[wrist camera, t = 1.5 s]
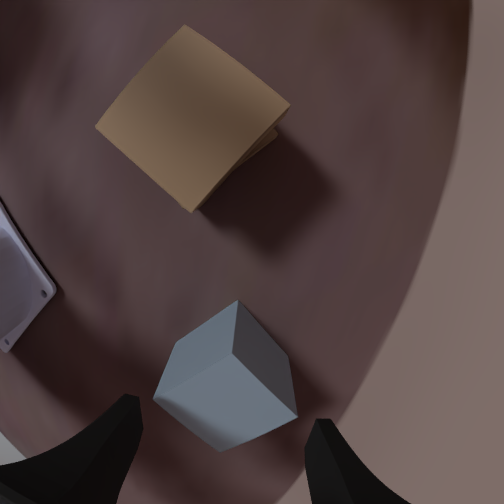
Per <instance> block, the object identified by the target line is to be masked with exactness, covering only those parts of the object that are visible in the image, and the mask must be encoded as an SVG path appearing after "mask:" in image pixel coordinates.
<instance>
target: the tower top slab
mask: <svg viewBox="0 0 504 504" xmlns="http://www.w3.org/2000/svg"><path fill="white" fill-rule="evenodd" d="M290 106H291V105H290V104H289V103H288V102H287V101H286V100H284V99H283V98H282V97H281V96H280V95H279V94H277V93H276V92H275V91H274V90H273V89H271V88H270V87H269V86H268V85H267V84H265V83H264V82H263V81H262V80H260V79H259V78H258V77H257V76H255V75H254V74H253V73H252V72H250V71H249V70H248V69H247V68H245V67H244V66H243V65H241V64H240V63H239V62H237V61H236V60H235V59H233V58H232V57H231V56H229V55H228V54H227V53H225V52H224V51H223V50H221V49H220V48H218V47H217V46H216V45H214V44H213V43H211V42H210V41H209V40H207V39H206V38H204V37H203V36H201V35H200V34H198V33H197V32H195V31H194V30H192V29H191V28H189V27H188V26H186V25H184V26H183V27H182V28H181V29H180V30H178V31H177V32H176V33H175V34H174V35H173V36H172V37H171V38H170V39H169V40H168V41H167V42H166V43H165V44H164V45H163V46H162V47H161V48H160V49H159V50H158V51H157V52H156V53H155V55H154V56H153V57H152V58H151V59H150V60H149V61H148V62H147V63H146V64H145V65H144V66H143V68H142V69H141V70H140V71H139V72H138V73H137V74H136V75H135V77H134V78H133V79H132V80H131V81H130V82H129V84H128V85H127V86H126V87H125V88H124V90H123V91H122V92H121V93H120V95H119V96H118V97H117V98H116V100H115V101H114V102H113V103H112V105H111V106H110V107H109V109H108V110H107V111H106V112H105V114H104V115H103V116H102V118H101V119H100V121H99V122H98V123H97V125H96V126H95V128H96V129H97V130H99V131H100V132H101V133H102V134H103V135H104V136H105V137H106V138H107V139H108V140H110V141H111V142H112V143H113V144H114V145H115V146H116V147H117V148H118V149H120V150H121V151H122V152H123V153H124V154H125V155H126V156H127V157H128V158H130V159H131V160H132V161H133V162H134V163H135V164H136V165H137V166H138V167H140V168H141V169H142V170H143V171H144V172H145V173H146V174H147V175H149V176H150V177H151V178H152V179H153V180H154V181H155V182H156V183H157V184H159V185H160V186H161V187H162V188H163V189H164V190H165V191H166V192H168V193H169V194H170V195H171V196H172V197H173V198H174V199H175V200H177V201H178V202H179V203H180V204H181V205H182V206H183V207H184V208H186V209H187V210H188V211H189V212H190V213H192V212H194V211H195V210H196V209H198V208H199V207H201V206H202V205H203V204H204V203H205V202H206V201H207V200H208V198H209V197H210V196H211V195H212V194H213V193H214V192H215V191H216V189H217V188H218V187H219V186H220V185H221V184H222V183H223V182H224V180H225V179H226V178H227V177H228V176H229V175H230V174H231V173H232V172H233V170H234V169H235V168H236V167H237V166H238V165H239V164H240V163H241V162H242V161H243V160H244V159H245V157H246V156H247V155H248V154H249V153H250V152H251V151H252V150H253V149H254V148H255V147H256V146H257V145H258V144H259V143H260V141H261V140H262V139H263V138H264V137H265V136H266V135H267V134H268V133H269V132H270V131H271V130H272V129H273V128H274V127H275V126H276V125H277V124H278V123H279V122H280V121H281V120H282V119H283V118H284V117H285V115H286V113H287V111H288V109H289V108H290Z"/></svg>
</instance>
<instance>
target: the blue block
mask: <svg viewBox="0 0 504 504" xmlns="http://www.w3.org/2000/svg"><path fill="white" fill-rule="evenodd" d="M153 400H154V401H155V402H156V403H157V404H158V405H160V406H161V407H162V408H163V409H164V410H165V411H167V412H168V413H169V414H170V415H171V416H173V417H174V418H175V419H176V420H178V421H179V422H180V423H181V424H183V425H184V426H185V427H186V428H188V429H189V430H190V431H191V432H193V433H194V434H195V435H197V436H198V437H199V438H201V439H202V440H203V441H205V442H206V443H207V444H209V445H210V446H212V447H213V448H214V449H216V450H217V451H219V452H223V451H225V450H228V449H230V448H233V447H235V446H238V445H240V444H242V443H245V442H247V441H249V440H252V439H254V438H256V437H258V436H260V435H263V434H265V433H267V432H269V431H271V430H273V429H275V428H277V427H279V426H281V425H284V424H286V423H288V422H289V421H291V420H293V419H295V418H297V417H298V414H297V408H296V401H295V395H294V389H293V383H292V377H291V371H290V364H289V358H288V356H287V354H286V353H285V352H284V351H283V350H282V349H281V348H280V347H279V346H278V344H277V343H276V342H275V341H274V340H273V339H272V338H271V337H270V335H269V334H268V333H267V332H266V331H265V330H264V329H263V328H262V326H261V325H260V324H259V323H258V322H257V321H256V320H255V318H254V317H253V316H252V315H251V314H250V313H249V312H248V310H247V309H246V308H245V307H244V306H243V305H242V303H241V302H240V301H239V300H237V301H235V302H234V303H232V304H231V305H230V306H228V307H227V308H225V309H224V310H222V311H221V312H220V313H218V314H217V315H215V316H214V317H212V318H211V319H209V320H208V321H207V322H205V323H204V324H202V325H201V326H199V327H198V328H196V329H195V330H193V331H192V332H190V333H189V334H188V335H186V336H185V337H183V338H182V339H180V340H179V341H177V342H176V343H175V346H174V348H173V351H172V353H171V355H170V358H169V360H168V363H167V365H166V367H165V370H164V372H163V375H162V377H161V380H160V382H159V385H158V387H157V390H156V392H155V395H154V397H153Z"/></svg>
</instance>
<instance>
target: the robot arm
mask: <svg viewBox="0 0 504 504" xmlns="http://www.w3.org/2000/svg"><path fill="white" fill-rule="evenodd" d="M44 291H45V292H46V293H47V295H46V294H45V292H44ZM55 293H56V286H55V284H54V282H53V281H52V280H51V278H50V277H49V276H48V274H47V273H46V272H45V270H44V269H43V267H42V266H41V265H40V263H39V262H38V260H37V259H36V257H35V256H34V255H33V253H32V252H31V250H30V249H29V247H28V246H27V244H26V243H25V241H24V240H23V238H22V237H21V235H20V233H19V232H18V230H17V229H16V227H15V225H14V224H13V222H12V220H11V219H10V217H9V215H8V214H7V212H6V210H5V209H4V207H3V205H2V203H1V202H0V348H1V350H2V351H3V352H5V353H7V352H8V351H9V350H10V349H11V348H12V346H13V345H14V344H15V342H16V341H17V340H18V339H19V337H20V336H21V335H22V333H23V332H24V331H25V330H26V328H27V327H28V326H29V325H30V323H31V322H32V321H33V320H34V318H35V317H36V316H37V315H38V313H39V312H40V311H41V310H42V309H43V307H44V306H45V305H46V304H47V303H48V302H49V300H50V299H51V298H52V297H53V296H54V295H55ZM142 431H143V424H142V416H141V409H140V401H139V397H137V396H133V395H129V394H124V395H123V396H122V397H121V398H120V399H118V400H117V401H116V402H115V403H114V404H113V405H112V406H111V407H110V408H109V409H108V410H107V411H105V412H104V413H103V414H102V415H101V416H100V417H98V418H97V419H96V420H95V421H94V422H92V423H91V424H90V425H89V426H87V427H86V428H85V429H83V430H82V431H80V432H79V433H78V434H76V435H75V436H73V437H72V438H70V439H69V440H67V441H65V442H64V443H62V444H60V445H58V446H56V447H54V448H52V449H50V450H48V451H46V452H44V453H42V454H39V455H37V456H34V457H31V458H28V459H25V460H22V461H19V462H15V463H10V464H6V465H0V504H116V503H117V499H118V495H119V492H120V489H121V487H122V484H123V482H124V480H125V477H126V475H127V472H128V470H129V468H130V466H131V463H132V461H133V458H134V456H135V454H136V451H137V449H138V446H139V442H140V439H141V435H142ZM305 468H306V474H307V480H308V485H309V489H310V495H311V501H312V504H411V503H409V502H407V501H406V500H404V499H403V498H401V497H400V496H399V495H397V494H396V493H394V492H393V491H392V490H390V489H389V488H388V487H387V486H385V485H384V484H383V483H382V482H381V481H380V480H379V479H378V478H377V477H376V476H375V475H374V474H373V473H372V472H371V471H370V470H369V469H368V468H367V467H366V466H365V465H364V464H363V462H362V461H361V460H360V459H359V458H358V456H357V455H356V454H355V453H354V451H353V450H352V449H351V447H350V446H349V445H348V443H347V442H346V441H345V439H344V438H343V436H342V435H341V433H340V432H339V430H338V429H337V427H336V426H335V424H334V423H333V422H332V420H331V419H316V420H315V423H314V426H313V428H312V431H311V433H310V436H309V438H308V441H307V443H306V446H305Z"/></svg>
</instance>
